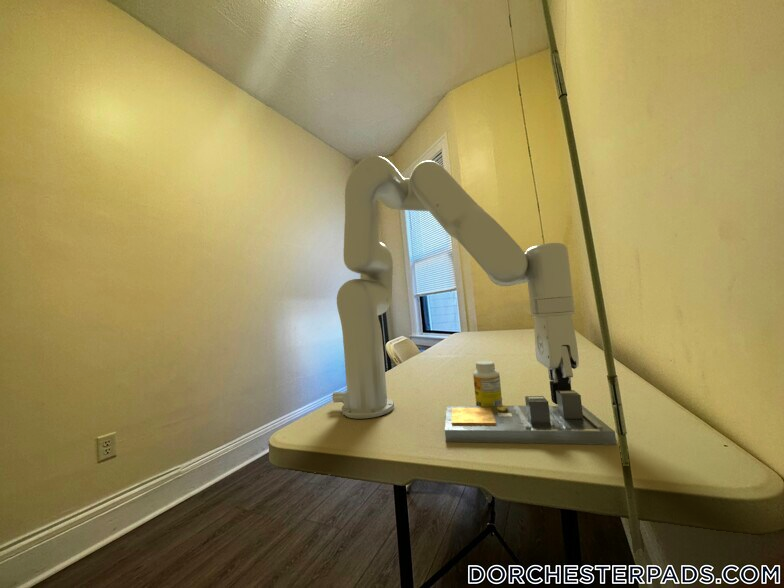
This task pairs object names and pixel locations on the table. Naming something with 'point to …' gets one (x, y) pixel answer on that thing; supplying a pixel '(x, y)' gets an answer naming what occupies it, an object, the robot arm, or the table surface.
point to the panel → (524, 425)
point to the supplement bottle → (487, 384)
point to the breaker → (569, 404)
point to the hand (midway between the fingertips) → (562, 402)
